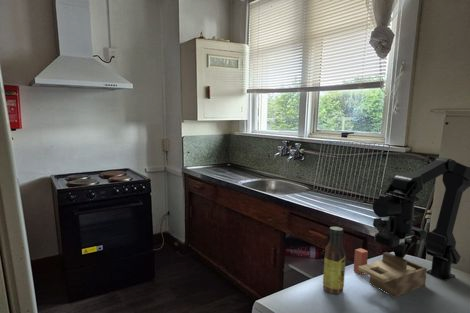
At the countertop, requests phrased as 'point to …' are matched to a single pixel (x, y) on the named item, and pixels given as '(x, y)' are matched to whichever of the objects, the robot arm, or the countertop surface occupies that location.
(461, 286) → the countertop surface
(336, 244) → the sauce bottle
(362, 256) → the block
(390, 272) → the lid
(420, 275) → the wooden box
